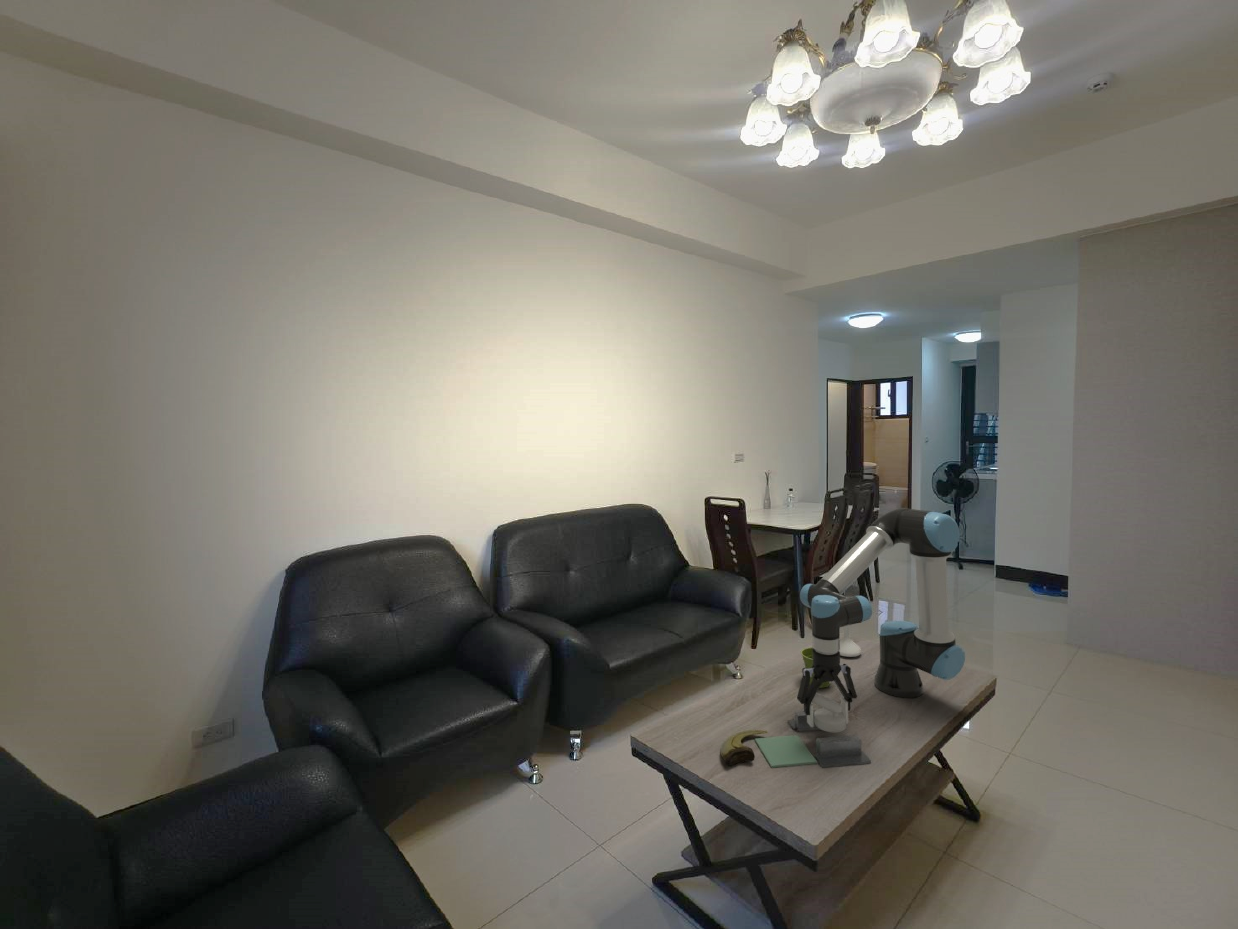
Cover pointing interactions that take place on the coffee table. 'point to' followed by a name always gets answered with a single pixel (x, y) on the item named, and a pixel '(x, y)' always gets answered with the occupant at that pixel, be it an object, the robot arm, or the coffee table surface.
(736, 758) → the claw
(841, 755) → the vise
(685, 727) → the coffee table surface
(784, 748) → the felt pad
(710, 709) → the coffee table surface
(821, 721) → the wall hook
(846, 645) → the flower in vase
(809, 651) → the plant pot
